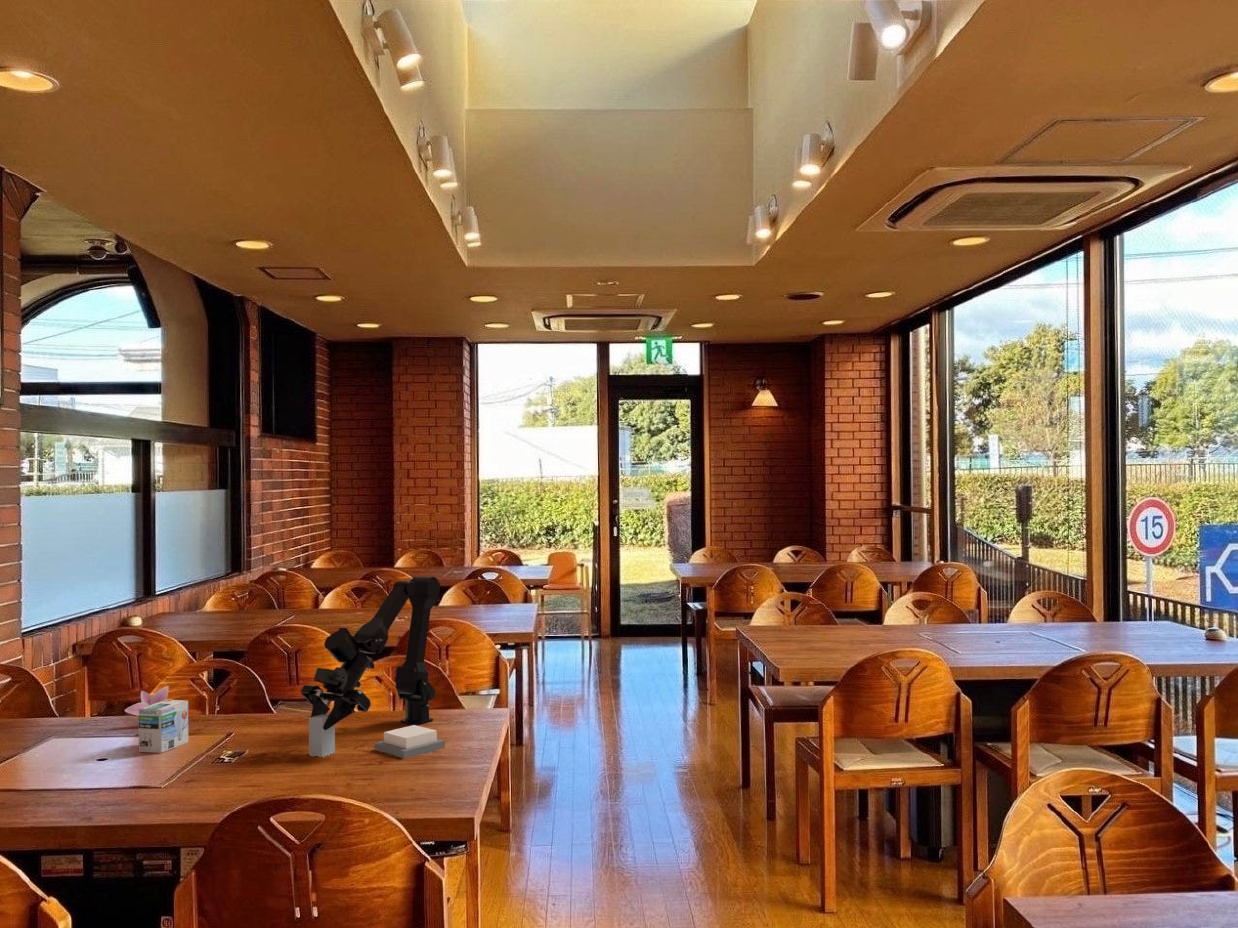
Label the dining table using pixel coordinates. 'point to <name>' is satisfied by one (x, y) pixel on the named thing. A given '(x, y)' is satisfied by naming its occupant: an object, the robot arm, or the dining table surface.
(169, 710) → the light bulb box
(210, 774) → the dining table surface
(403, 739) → the off-white top slab
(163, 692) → the lily
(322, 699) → the robot arm
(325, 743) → the slate block
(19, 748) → the dining table surface
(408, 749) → the square tray
